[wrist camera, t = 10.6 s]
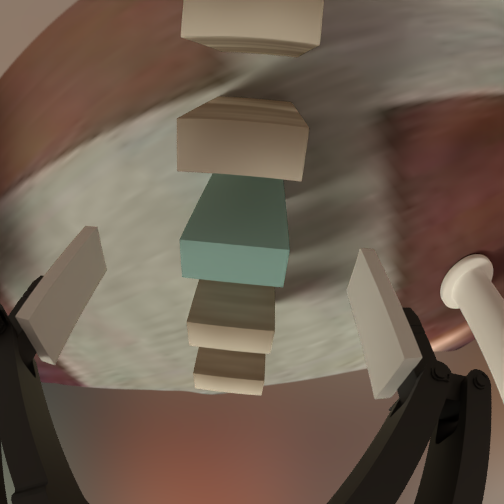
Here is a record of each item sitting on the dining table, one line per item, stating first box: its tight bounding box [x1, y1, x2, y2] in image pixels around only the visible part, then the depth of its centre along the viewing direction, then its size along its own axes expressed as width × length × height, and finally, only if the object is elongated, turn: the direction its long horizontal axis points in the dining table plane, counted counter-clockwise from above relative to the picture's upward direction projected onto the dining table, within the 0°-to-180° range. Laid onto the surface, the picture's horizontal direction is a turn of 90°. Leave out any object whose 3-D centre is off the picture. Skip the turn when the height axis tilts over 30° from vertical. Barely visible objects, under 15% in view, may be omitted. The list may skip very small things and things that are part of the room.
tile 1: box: [181, 0, 324, 58], centre depth 12 cm, size 2×5×10 cm, turn 86°
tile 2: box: [177, 96, 309, 182], centre depth 15 cm, size 2×5×10 cm, turn 85°
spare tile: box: [180, 173, 290, 287], centre depth 18 cm, size 2×5×10 cm, turn 86°
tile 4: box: [187, 279, 275, 354], centre depth 21 cm, size 2×5×10 cm, turn 86°
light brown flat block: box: [193, 347, 265, 395], centre depth 24 cm, size 2×5×10 cm, turn 86°
